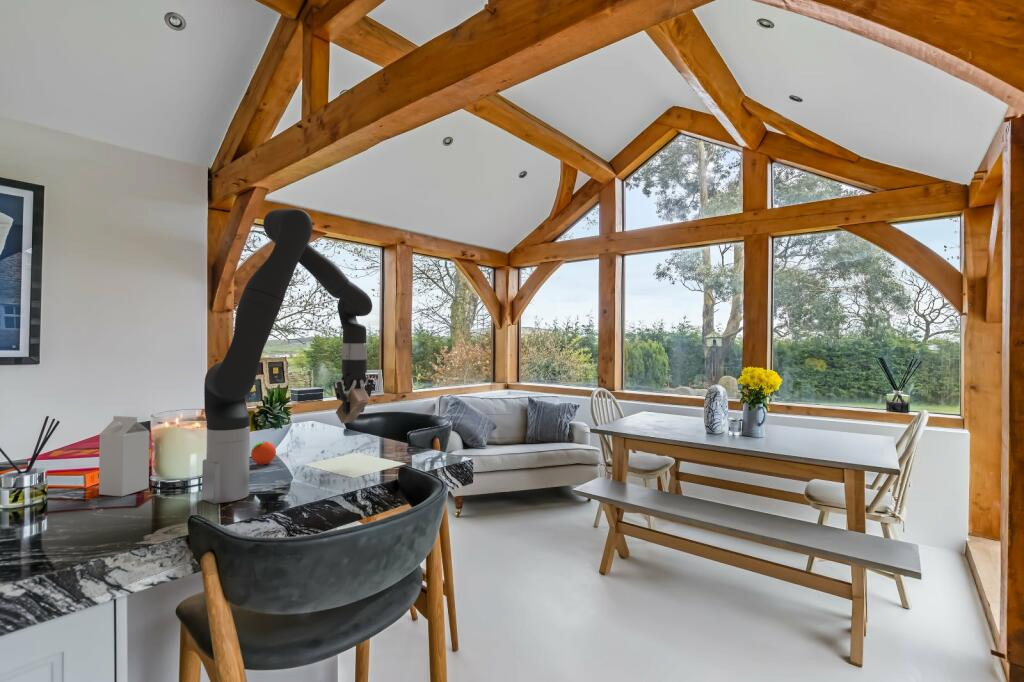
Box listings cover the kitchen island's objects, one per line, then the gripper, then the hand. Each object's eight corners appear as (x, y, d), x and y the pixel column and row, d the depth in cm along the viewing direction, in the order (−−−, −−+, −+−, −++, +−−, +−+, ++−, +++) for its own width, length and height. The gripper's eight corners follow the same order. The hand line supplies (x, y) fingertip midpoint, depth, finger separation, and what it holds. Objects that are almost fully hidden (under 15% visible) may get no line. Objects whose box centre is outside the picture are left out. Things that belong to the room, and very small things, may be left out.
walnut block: (341, 423, 153) (358, 400, 149) (335, 412, 155) (352, 389, 151) (353, 421, 157) (370, 399, 153) (347, 410, 159) (364, 388, 155)
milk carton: (126, 486, 129) (127, 413, 129) (148, 488, 128) (149, 415, 128) (98, 495, 122) (99, 418, 122) (122, 497, 121) (123, 419, 121)
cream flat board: (353, 479, 138) (353, 477, 138) (302, 466, 152) (302, 464, 152) (406, 465, 155) (406, 463, 155) (356, 454, 168) (356, 452, 168)
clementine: (259, 469, 149) (260, 445, 149) (242, 466, 151) (242, 443, 151) (280, 462, 156) (281, 440, 156) (264, 460, 158) (264, 438, 158)
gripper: (342, 359, 146) (341, 417, 146) (380, 357, 158) (380, 411, 158) (326, 358, 150) (326, 414, 150) (365, 357, 162) (364, 409, 162)
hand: (353, 412), depth 154 cm, fingers closed on walnut block, 4 cm apart
